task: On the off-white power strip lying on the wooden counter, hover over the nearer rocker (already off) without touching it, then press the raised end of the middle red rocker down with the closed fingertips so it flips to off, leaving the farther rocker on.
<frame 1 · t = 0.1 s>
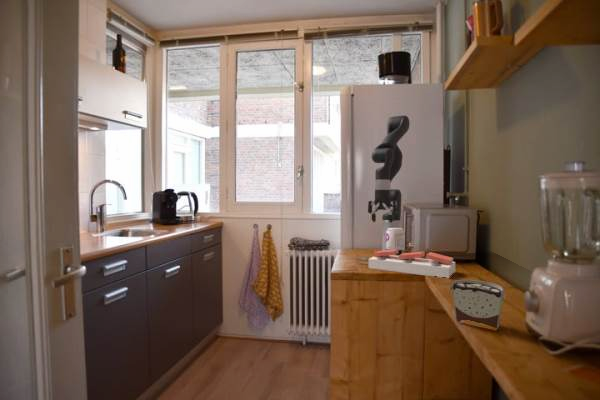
hand: (382, 222, 170), 17 cm above the worktop, tool pointing down, fingers open, 8 cm apart
rocker 2: (439, 258, 138), point 6 cm above the worktop, hinge at -10.0°
supplement can: (395, 260, 163), on the worktop
food container: (479, 323, 87), on the worktop
power strip: (410, 269, 143), on the worktop
rocker middle: (411, 255, 144), point 6 cm above the worktop, hinge at 10.0°
rocker 1: (386, 252, 150), point 6 cm above the worktop, hinge at 10.0°
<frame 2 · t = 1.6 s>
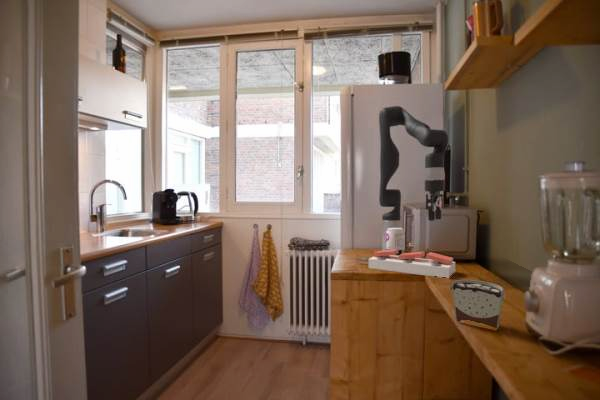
hand: (435, 219, 139), 21 cm above the worktop, tool pointing down, fingers open, 8 cm apart
nothing on the worktop moved.
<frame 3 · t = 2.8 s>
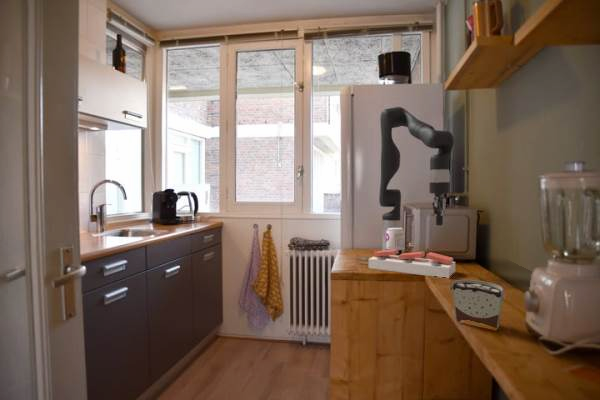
hand: (439, 225, 137), 19 cm above the worktop, tool pointing down, fingers closed
nothing on the worktop moved.
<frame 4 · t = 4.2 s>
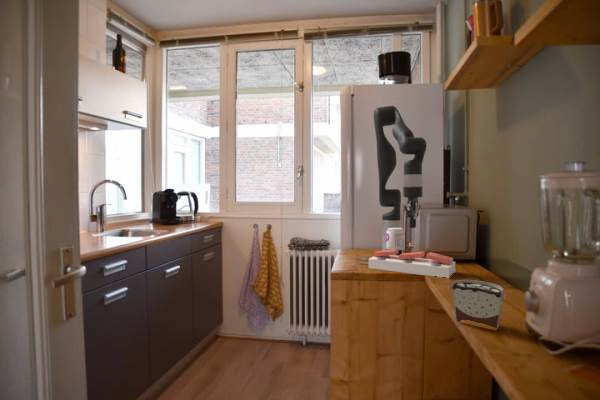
hand: (412, 227, 143), 17 cm above the worktop, tool pointing down, fingers closed
nothing on the worktop moved.
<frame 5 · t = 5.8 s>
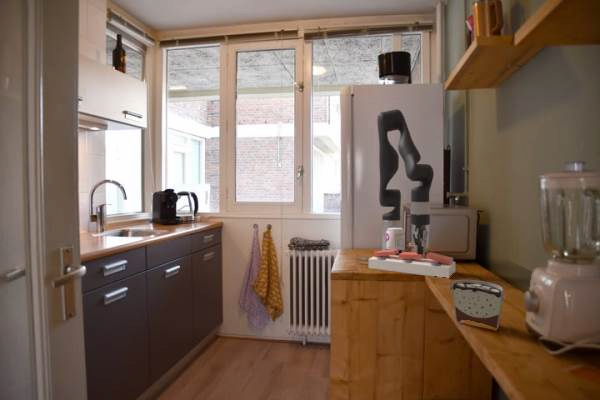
hand: (420, 255, 142), 6 cm above the worktop, tool pointing down, fingers closed
rocker middle: (411, 255, 144), point 6 cm above the worktop, hinge at 3.6°, touching gripper
everything else where it was.
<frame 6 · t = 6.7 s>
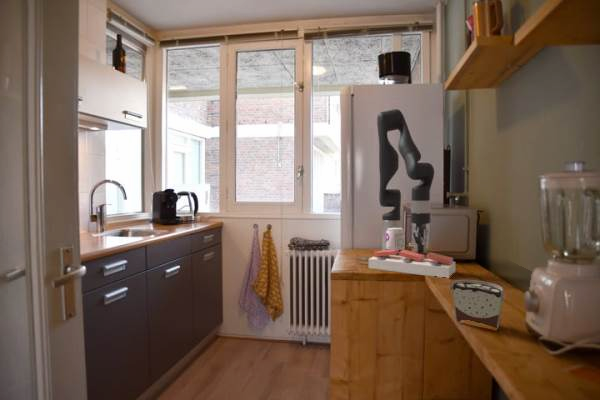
hand: (420, 253, 142), 7 cm above the worktop, tool pointing down, fingers closed
rocker middle: (411, 255, 144), point 6 cm above the worktop, hinge at -10.1°
everything else where it was.
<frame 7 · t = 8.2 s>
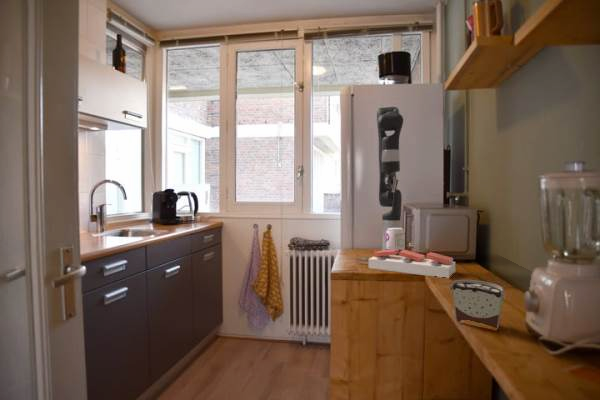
hand: (391, 201, 150), 28 cm above the worktop, tool pointing down, fingers closed
nothing on the worktop moved.
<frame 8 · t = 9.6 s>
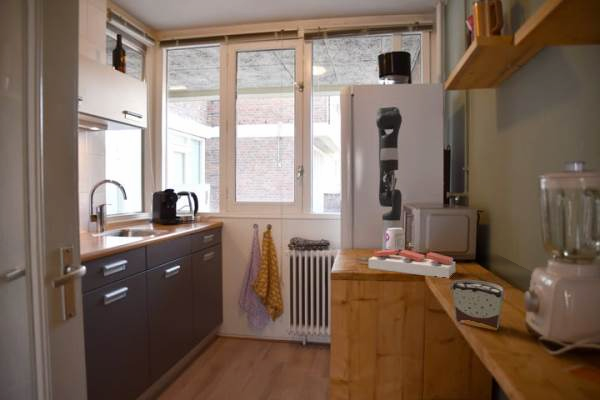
hand: (389, 199, 150), 29 cm above the worktop, tool pointing down, fingers closed
nothing on the worktop moved.
at the end: rocker middle at -10° (first picture: +10°); rocker 1 at +10° (first picture: +10°); rocker 2 at -10° (first picture: -10°) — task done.
